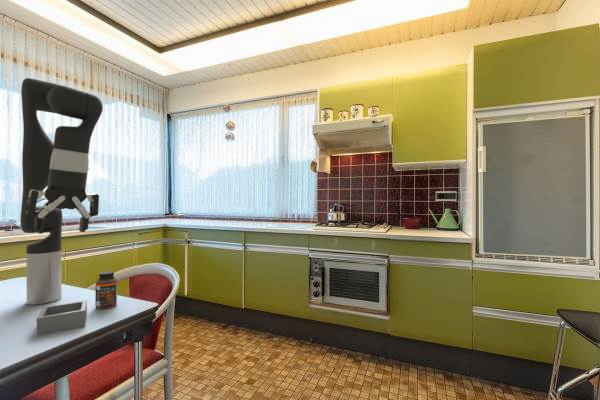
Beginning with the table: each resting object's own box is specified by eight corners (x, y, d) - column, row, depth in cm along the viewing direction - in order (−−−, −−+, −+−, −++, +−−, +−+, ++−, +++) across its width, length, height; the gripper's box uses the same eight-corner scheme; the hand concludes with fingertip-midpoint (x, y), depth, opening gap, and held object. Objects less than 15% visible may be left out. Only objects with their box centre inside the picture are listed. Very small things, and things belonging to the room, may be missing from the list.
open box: (43, 322, 82) (43, 307, 82) (86, 314, 88) (86, 300, 88) (36, 336, 74) (36, 318, 74) (85, 326, 80) (85, 310, 80)
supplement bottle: (97, 311, 90) (97, 275, 91) (93, 307, 95) (93, 272, 95) (119, 306, 95) (119, 272, 95) (114, 302, 99) (114, 269, 99)
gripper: (95, 171, 81) (88, 228, 81) (27, 163, 69) (19, 230, 69) (107, 174, 76) (99, 234, 77) (36, 165, 65) (28, 236, 65)
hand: (61, 232), depth 73 cm, fingers open, 8 cm apart
